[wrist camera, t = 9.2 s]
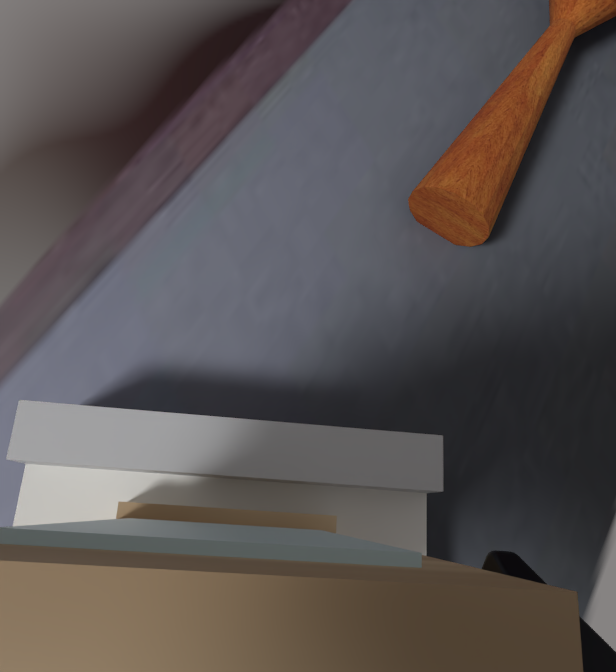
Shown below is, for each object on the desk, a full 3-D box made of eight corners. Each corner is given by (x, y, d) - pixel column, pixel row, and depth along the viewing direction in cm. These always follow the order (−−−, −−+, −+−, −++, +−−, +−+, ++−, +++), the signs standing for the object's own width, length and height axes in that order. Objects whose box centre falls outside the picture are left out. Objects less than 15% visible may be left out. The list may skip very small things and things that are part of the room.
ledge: (405, 738, 17) (445, 792, 14) (-4, 725, 16) (-65, 781, 13) (408, 447, 20) (442, 435, 17) (57, 419, 19) (19, 400, 16)
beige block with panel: (322, 664, 16) (621, 1190, 4) (103, 656, 15) (-434, 1246, 3) (329, 515, 17) (571, 527, 5) (126, 501, 17) (-193, 477, 4)
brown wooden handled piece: (381, 134, 19) (617, -213, 24) (376, 224, 25) (567, -72, 30) (547, 209, 18) (763, -175, 23) (502, 286, 24) (682, -35, 28)
